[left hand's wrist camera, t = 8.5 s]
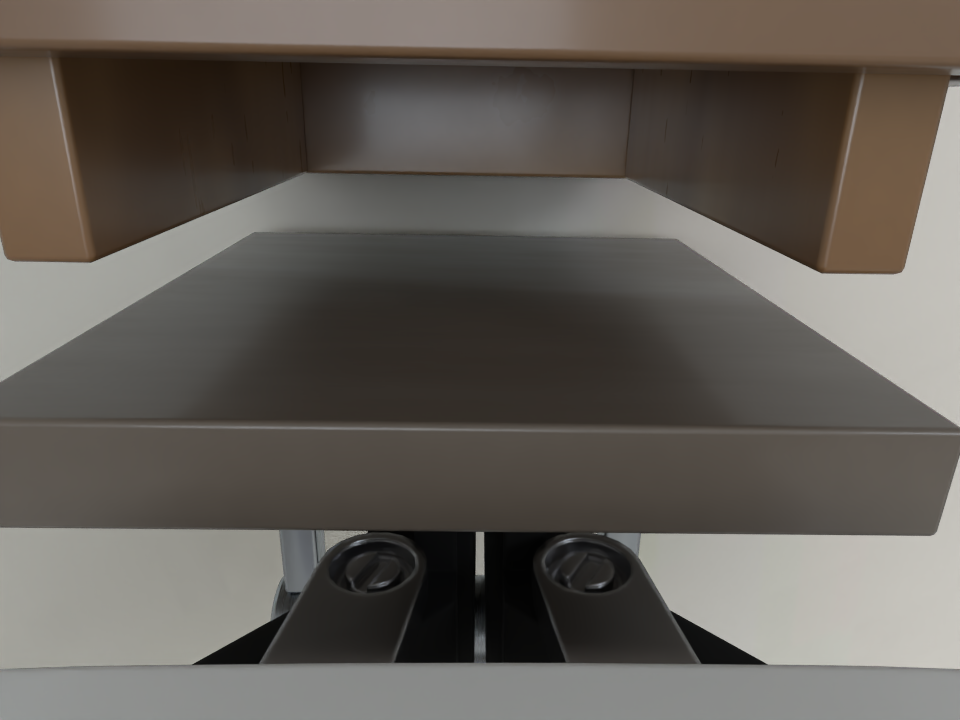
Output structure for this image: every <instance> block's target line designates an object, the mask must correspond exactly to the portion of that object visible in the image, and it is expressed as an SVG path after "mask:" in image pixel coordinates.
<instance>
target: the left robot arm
mask: <svg viewBox="0 0 960 720" xmlns="http://www.w3.org/2000/svg"><path fill="white" fill-rule="evenodd" d="M484 560H485V660H486V663H474V659H475V561H476V532H454V531H368V533H366V534H361V535H356V536H353V537H351V538H348V539H345V540H343V541H341V542H339V543H338V544H336V545H335V546H333V547H332V548H330V549H329V550H328V551H327V552H326V553H325V554H324V556H323V557H322V558H321V559H320V561H319V562H318V564H317V566H316V567H315V569H314V571H313V573H312V574H311V576H310V578H309V579H308V581H307V583H306V584H305V586H304V588H303V590H302V591H301V593H300V595H299V596H298V598H297V600H296V601H295V603H294V605H293V607H292V608H291V610H290V611H288V612H286V613H284V614H283V615H281V616H279V617H277V618H275V619H274V620H272V621H270V622H268V623H266V624H265V625H263V626H261V627H259V628H257V629H256V630H254V631H252V632H250V633H248V634H246V635H245V636H243V637H241V638H239V639H237V640H236V641H234V642H232V643H230V644H228V645H227V646H225V647H223V648H221V649H219V650H218V651H216V652H214V653H212V654H210V655H209V656H207V657H205V658H203V659H201V660H200V661H198V662H196V663H194V664H192V665H145V666H75V667H47V668H20V669H0V720H960V669H940V668H913V667H885V666H831V665H768V664H766V663H764V662H762V661H760V660H759V659H757V658H755V657H753V656H751V655H750V654H748V653H746V652H744V651H742V650H741V649H739V648H737V647H735V646H733V645H732V644H730V643H728V642H726V641H724V640H723V639H721V638H719V637H717V636H715V635H713V634H712V633H710V632H708V631H706V630H704V629H703V628H701V627H699V626H697V625H695V624H694V623H692V622H690V621H688V620H686V619H685V618H683V617H681V616H679V615H677V614H676V613H674V612H672V611H670V610H669V608H668V607H667V605H666V603H665V601H664V600H663V598H662V596H661V595H660V593H659V591H658V590H657V588H656V586H655V584H654V583H653V581H652V579H651V578H650V576H649V574H648V573H647V571H646V569H645V567H644V566H643V564H642V562H641V561H640V559H639V558H638V557H637V556H636V554H635V553H634V552H633V551H632V550H631V549H630V548H628V547H627V546H625V545H624V544H622V543H621V542H619V541H617V540H615V539H612V538H609V537H607V536H604V535H599V534H594V533H567V532H484Z"/></svg>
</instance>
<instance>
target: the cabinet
mask: <svg viewBox="0 0 960 720" xmlns="http://www.w3.org/2000/svg"><path fill="white" fill-rule="evenodd" d="M0 56H12V57H62V58H112V59H162V60H213V61H263V62H313V63H363V64H414V65H464V66H514V67H564V68H615V69H665V70H715V71H765V72H816V73H866V74H916V75H951V77H950V81H949V85H948V87H955V86H960V0H0Z"/></svg>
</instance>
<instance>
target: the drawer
mask: <svg viewBox="0 0 960 720" xmlns="http://www.w3.org/2000/svg"><path fill="white" fill-rule="evenodd" d="M950 77H951V75H916V74H866V73H816V72H765V71H715V70H665V69H615V68H564V67H514V66H464V65H414V64H363V63H313V62H263V61H213V60H162V59H112V58H62V57H12V56H0V237H1V241H2V245H3V250H4V254H5V256H6V258H7V259H9V260H12V261H21V262H87V263H91V262H94V261H96V260H98V259H101V258H103V257H105V256H108V255H110V254H113V253H115V252H117V251H120V250H122V249H125V248H127V247H129V246H132V245H134V244H137V243H139V242H141V241H144V240H146V239H149V238H151V237H153V236H156V235H158V234H161V233H163V232H165V231H168V230H170V229H173V228H175V227H177V226H180V225H182V224H185V223H187V222H189V221H192V220H194V219H196V218H199V217H201V216H204V215H206V214H208V213H211V212H213V211H216V210H218V209H220V208H223V207H225V206H228V205H230V204H232V203H235V202H237V201H240V200H242V199H244V198H247V197H249V196H252V195H254V194H256V193H259V192H261V191H264V190H266V189H268V188H271V187H273V186H276V185H278V184H280V183H283V182H285V181H287V180H290V179H292V178H295V177H297V176H299V175H302V174H304V173H337V174H395V175H453V176H511V177H569V178H626V179H629V180H631V181H633V182H635V183H637V184H639V185H641V186H643V187H645V188H647V189H649V190H651V191H654V192H656V193H658V194H660V195H662V196H664V197H666V198H668V199H670V200H672V201H674V202H676V203H678V204H680V205H682V206H684V207H686V208H688V209H691V210H693V211H695V212H697V213H699V214H701V215H703V216H705V217H707V218H709V219H711V220H713V221H715V222H717V223H719V224H721V225H723V226H725V227H727V228H730V229H732V230H734V231H736V232H738V233H740V234H742V235H744V236H746V237H748V238H750V239H752V240H754V241H756V242H758V243H760V244H762V245H764V246H767V247H769V248H771V249H773V250H775V251H777V252H779V253H781V254H783V255H785V256H787V257H789V258H791V259H793V260H795V261H797V262H799V263H801V264H803V265H806V266H808V267H810V268H812V269H814V270H816V271H818V272H820V273H828V274H897V273H900V272H902V271H903V269H904V267H905V263H906V259H907V255H908V251H909V246H910V242H911V238H912V234H913V230H914V226H915V222H916V217H917V213H918V209H919V205H920V201H921V197H922V193H923V188H924V184H925V180H926V176H927V172H928V168H929V164H930V159H931V155H932V151H933V147H934V143H935V139H936V135H937V130H938V126H939V122H940V118H941V114H942V110H943V106H944V101H945V97H946V93H947V89H948V85H949V81H950ZM959 456H960V427H959V426H957V425H956V424H954V423H953V422H951V421H950V420H948V419H947V418H945V417H944V416H942V415H941V414H939V413H938V412H936V411H935V410H933V409H932V408H930V407H929V406H927V405H926V404H924V403H923V402H921V401H920V400H918V399H916V398H915V397H913V396H912V395H910V394H909V393H907V392H906V391H904V390H903V389H901V388H900V387H898V386H897V385H895V384H894V383H892V382H891V381H889V380H888V379H886V378H885V377H883V376H882V375H880V374H879V373H877V372H876V371H874V370H873V369H871V368H870V367H868V366H867V365H865V364H864V363H862V362H861V361H859V360H858V359H856V358H855V357H853V356H852V355H850V354H849V353H847V352H846V351H844V350H843V349H841V348H840V347H838V346H837V345H835V344H834V343H832V342H831V341H829V340H828V339H826V338H825V337H823V336H822V335H820V334H819V333H817V332H816V331H814V330H813V329H811V328H810V327H808V326H807V325H805V324H804V323H802V322H801V321H799V320H798V319H796V318H795V317H793V316H792V315H790V314H789V313H787V312H786V311H784V310H783V309H781V308H780V307H778V306H777V305H775V304H774V303H772V302H771V301H769V300H768V299H766V298H765V297H763V296H762V295H760V294H759V293H757V292H756V291H754V290H753V289H751V288H749V287H748V286H746V285H745V284H743V283H742V282H740V281H739V280H737V279H736V278H734V277H733V276H731V275H730V274H728V273H727V272H725V271H724V270H722V269H721V268H719V267H718V266H716V265H715V264H713V263H712V262H710V261H709V260H707V259H706V258H704V257H703V256H701V255H700V254H698V253H697V252H695V251H694V250H692V249H691V248H689V247H688V246H686V245H685V244H683V243H682V242H680V241H679V240H677V239H649V238H586V237H523V236H460V235H397V234H334V233H271V232H254V233H252V234H250V235H249V236H247V237H245V238H244V239H242V240H240V241H239V242H237V243H235V244H233V245H232V246H230V247H228V248H227V249H225V250H223V251H222V252H220V253H218V254H217V255H215V256H213V257H211V258H210V259H208V260H206V261H205V262H203V263H201V264H200V265H198V266H196V267H195V268H193V269H191V270H189V271H188V272H186V273H184V274H183V275H181V276H179V277H178V278H176V279H174V280H173V281H171V282H169V283H167V284H166V285H164V286H162V287H161V288H159V289H157V290H156V291H154V292H152V293H151V294H149V295H147V296H145V297H144V298H142V299H140V300H139V301H137V302H135V303H134V304H132V305H130V306H129V307H127V308H125V309H124V310H122V311H120V312H118V313H117V314H115V315H113V316H112V317H110V318H108V319H107V320H105V321H103V322H102V323H100V324H98V325H96V326H95V327H93V328H91V329H90V330H88V331H86V332H85V333H83V334H81V335H80V336H78V337H76V338H74V339H73V340H71V341H69V342H68V343H66V344H64V345H63V346H61V347H59V348H58V349H56V350H54V351H52V352H51V353H49V354H47V355H46V356H44V357H42V358H41V359H39V360H37V361H36V362H34V363H32V364H30V365H29V366H27V367H25V368H24V369H22V370H20V371H19V372H17V373H15V374H14V375H12V376H10V377H8V378H7V379H5V380H3V381H2V382H0V527H5V528H118V529H230V530H279V533H280V542H281V552H282V562H283V572H284V577H283V578H282V579H281V581H280V583H279V585H278V588H277V591H276V594H275V597H274V602H273V607H272V613H271V621H272V620H274V619H275V618H277V617H279V616H281V615H283V614H284V613H286V612H288V611H290V610H291V608H292V607H293V605H294V603H295V601H296V600H297V598H298V596H299V595H300V593H301V591H302V590H303V588H304V586H305V584H306V583H307V581H308V579H309V578H310V576H311V574H312V573H313V571H314V569H315V567H316V566H317V564H318V562H319V561H320V559H321V558H322V557H323V556H324V554H325V553H326V552H325V538H324V530H342V531H454V532H567V533H597V534H599V535H604V536H607V537H609V538H612V539H615V540H617V541H619V542H621V543H622V544H624V545H625V546H627V547H628V548H630V549H631V550H632V551H633V552H634V553H635V554H636V556H637V557H638V554H639V545H640V537H641V533H679V534H791V535H903V536H931V535H934V534H935V533H936V532H937V529H938V526H939V522H940V519H941V516H942V512H943V509H944V506H945V502H946V499H947V496H948V492H949V489H950V486H951V482H952V479H953V476H954V472H955V469H956V466H957V462H958V459H959ZM474 663H486V660H485V575H475V659H474Z"/></svg>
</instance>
